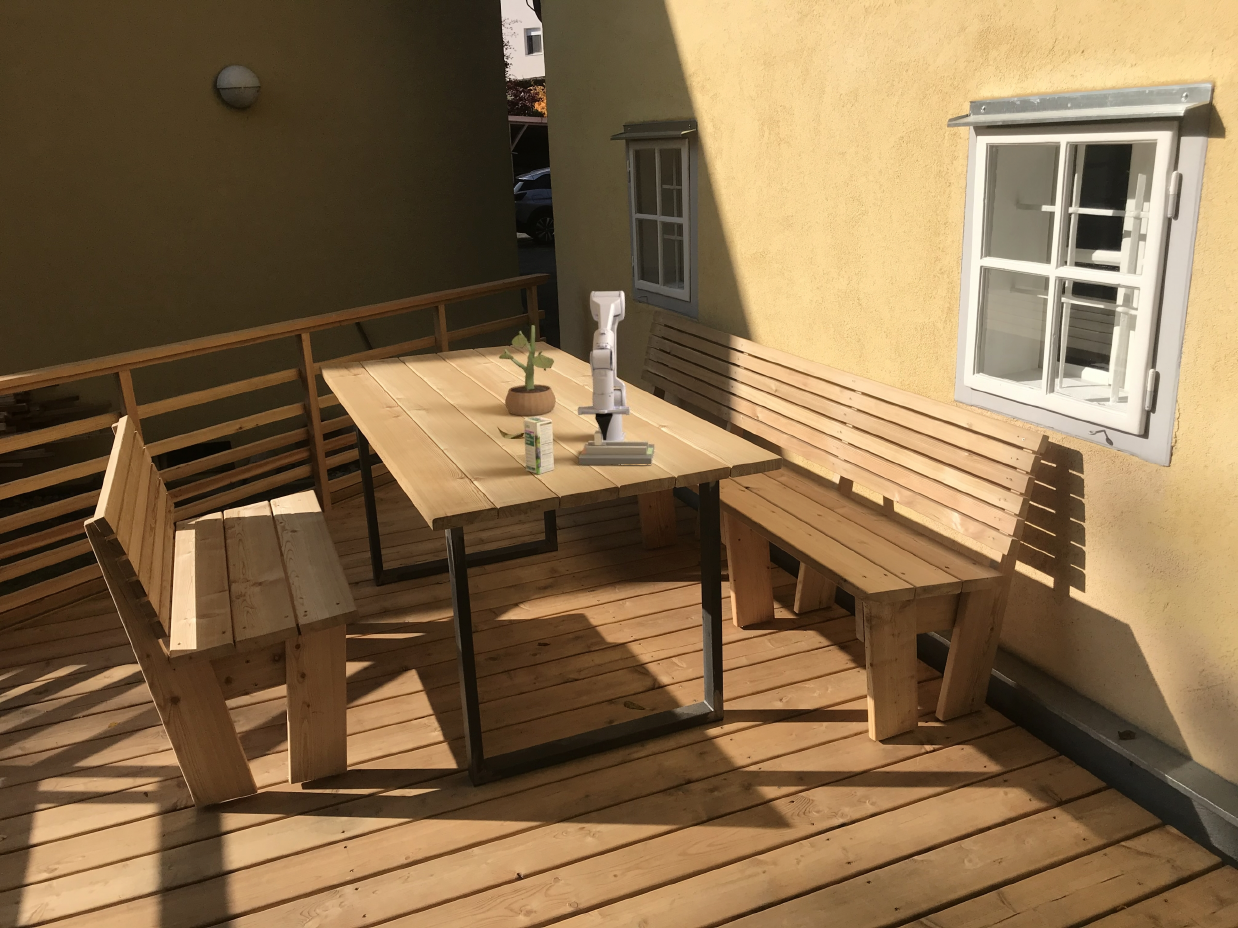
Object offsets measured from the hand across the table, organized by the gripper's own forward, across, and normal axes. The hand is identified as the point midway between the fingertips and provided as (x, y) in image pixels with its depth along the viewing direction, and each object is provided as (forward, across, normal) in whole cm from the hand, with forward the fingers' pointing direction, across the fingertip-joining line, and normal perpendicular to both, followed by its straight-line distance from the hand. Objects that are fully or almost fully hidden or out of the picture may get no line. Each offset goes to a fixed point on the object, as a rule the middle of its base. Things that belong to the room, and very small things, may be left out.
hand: (604, 439), depth 277 cm
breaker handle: (+3, -2, 0) cm, 4 cm away
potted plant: (+6, -30, +51) cm, 60 cm away
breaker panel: (+5, +3, 0) cm, 6 cm away
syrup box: (+6, -17, -12) cm, 21 cm away
